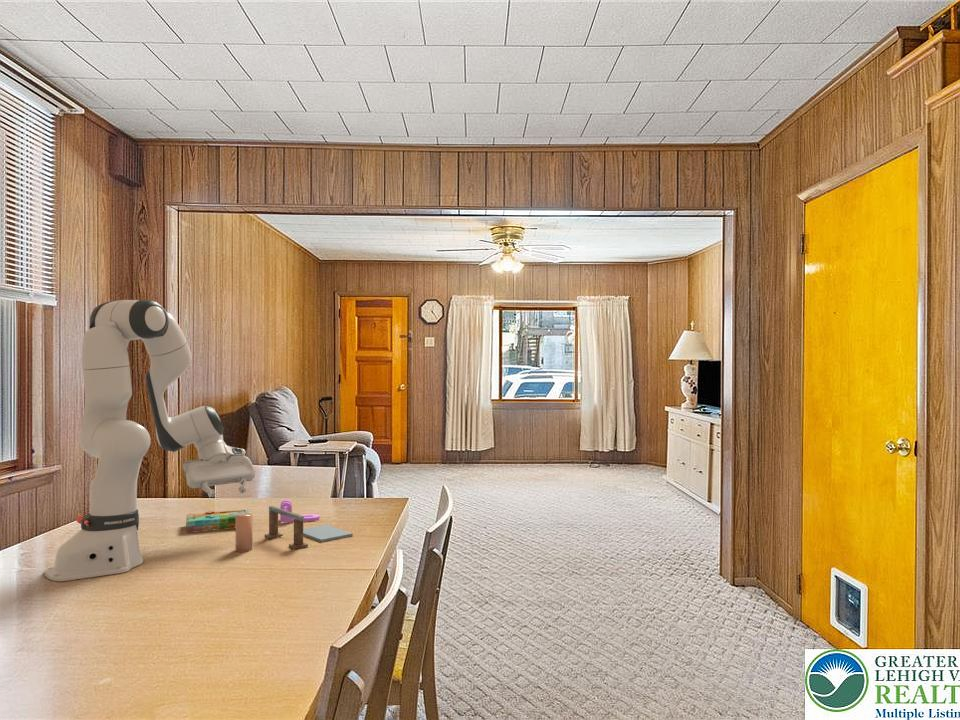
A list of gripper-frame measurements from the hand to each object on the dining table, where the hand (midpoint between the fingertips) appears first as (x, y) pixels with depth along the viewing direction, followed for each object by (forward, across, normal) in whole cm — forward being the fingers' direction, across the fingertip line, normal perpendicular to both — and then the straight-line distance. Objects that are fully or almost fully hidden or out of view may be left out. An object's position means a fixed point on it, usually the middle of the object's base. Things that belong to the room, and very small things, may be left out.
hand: (228, 493), depth 205 cm
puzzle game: (-5, +6, +26) cm, 27 cm away
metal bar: (+13, +13, -3) cm, 18 cm away
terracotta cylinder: (+18, 0, +2) cm, 18 cm away
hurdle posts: (+18, +13, +2) cm, 23 cm away
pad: (+18, +26, +2) cm, 32 cm away
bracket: (+2, +30, +19) cm, 36 cm away
